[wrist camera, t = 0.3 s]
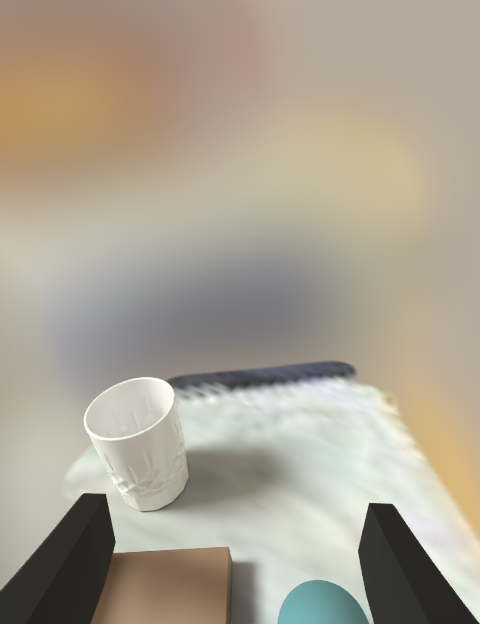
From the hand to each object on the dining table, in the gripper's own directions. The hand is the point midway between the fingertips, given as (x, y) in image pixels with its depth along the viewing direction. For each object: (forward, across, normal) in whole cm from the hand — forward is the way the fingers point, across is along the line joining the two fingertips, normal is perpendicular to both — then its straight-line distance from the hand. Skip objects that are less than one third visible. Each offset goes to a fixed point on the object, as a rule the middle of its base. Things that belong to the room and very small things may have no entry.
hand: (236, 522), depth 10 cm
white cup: (+19, +9, +22) cm, 30 cm away
